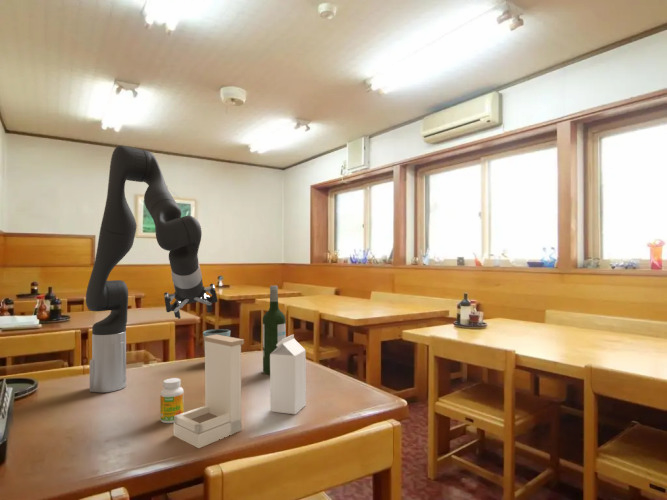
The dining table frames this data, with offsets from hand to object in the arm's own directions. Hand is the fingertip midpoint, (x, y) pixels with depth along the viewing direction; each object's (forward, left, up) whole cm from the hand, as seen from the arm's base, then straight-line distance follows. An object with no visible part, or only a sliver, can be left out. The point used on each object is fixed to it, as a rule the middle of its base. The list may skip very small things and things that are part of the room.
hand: (193, 313), depth 124 cm
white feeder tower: (+8, -31, -23) cm, 39 cm away
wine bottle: (+25, +16, -24) cm, 38 cm away
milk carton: (+27, -20, -24) cm, 41 cm away
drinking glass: (+4, +34, -24) cm, 42 cm away
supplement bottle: (-2, -21, -24) cm, 32 cm away
